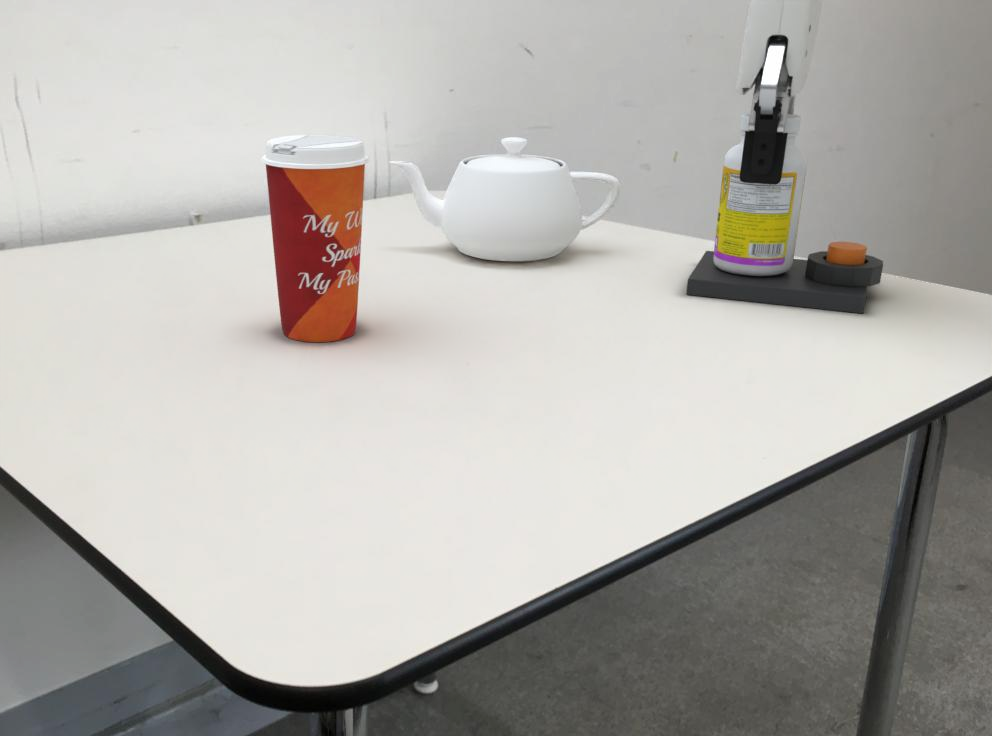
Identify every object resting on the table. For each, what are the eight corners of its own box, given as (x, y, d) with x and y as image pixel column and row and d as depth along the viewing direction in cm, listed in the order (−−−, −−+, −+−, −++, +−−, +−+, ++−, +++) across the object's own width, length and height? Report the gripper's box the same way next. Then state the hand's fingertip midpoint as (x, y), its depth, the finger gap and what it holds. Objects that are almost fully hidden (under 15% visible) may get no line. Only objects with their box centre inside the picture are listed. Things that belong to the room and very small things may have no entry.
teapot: (604, 237, 112) (613, 129, 108) (626, 270, 100) (637, 149, 95) (390, 234, 113) (391, 127, 109) (385, 267, 100) (386, 147, 96)
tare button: (864, 261, 93) (867, 243, 92) (863, 269, 90) (866, 251, 90) (826, 258, 94) (829, 240, 93) (824, 265, 91) (827, 247, 91)
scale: (877, 282, 97) (883, 248, 95) (876, 315, 87) (883, 278, 86) (704, 265, 102) (708, 233, 101) (685, 294, 93) (690, 259, 91)
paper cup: (324, 353, 78) (320, 152, 72) (246, 333, 82) (237, 141, 76) (391, 328, 83) (392, 139, 78) (315, 310, 88) (311, 130, 82)
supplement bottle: (737, 256, 99) (756, 109, 94) (805, 269, 95) (829, 115, 90) (696, 268, 95) (714, 115, 90) (766, 282, 91) (788, 122, 86)
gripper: (757, -56, 93) (730, 158, 100) (733, -62, 79) (703, 189, 86) (851, -57, 91) (816, 163, 98) (844, -63, 76) (804, 197, 83)
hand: (764, 173), depth 92 cm, fingers closed on supplement bottle, 6 cm apart
